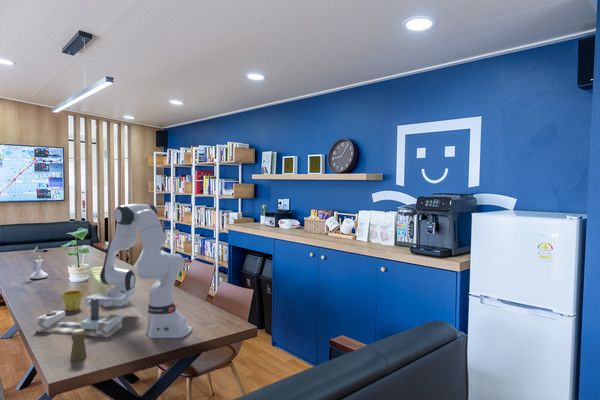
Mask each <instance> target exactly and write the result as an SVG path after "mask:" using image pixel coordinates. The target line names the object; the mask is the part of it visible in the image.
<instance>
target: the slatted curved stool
mask: <svg viewBox="0 0 600 400" xmlns="http://www.w3.org/2000/svg"><path fill="white" fill-rule="evenodd" d="M114 266H115V267H116V268H117V266H116V264H114ZM102 268H103V265H102V266H95V267H92V268H91V269H90V270H89V273H88V274H89V277H88V279H90V280H91V281H92V287H93V295H94V294H103V295H104V294H105V292H106V291H107V289H108V288H112V285H109V284H103V283H102V281H101V279H100V273H101V271H102Z"/></svg>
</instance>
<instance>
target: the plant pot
mask: <svg viewBox="0 0 600 400" xmlns="http://www.w3.org/2000/svg"><path fill="white" fill-rule="evenodd" d="M61 298H62V299H61V300H62V301H63V303H64V307H65V311H67V310H68V311H70V312H71V311H77V310H79V309H80V306H81V300H82V298H83V291H82V290H68V291H64V292H63V293H62V294H61Z"/></svg>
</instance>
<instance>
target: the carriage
mask: <svg viewBox="0 0 600 400" xmlns="http://www.w3.org/2000/svg"><path fill="white" fill-rule="evenodd" d="M99 309H100V305H99V299H98V298H95V299H91V305H90V317H88V318H86V319H84V320H81V321H80V323H81V327H80V328H84V329H90V330H96V322H98V321H100V320H102V319H104V318H106V317H108V316H109V315H100V310H99Z"/></svg>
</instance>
